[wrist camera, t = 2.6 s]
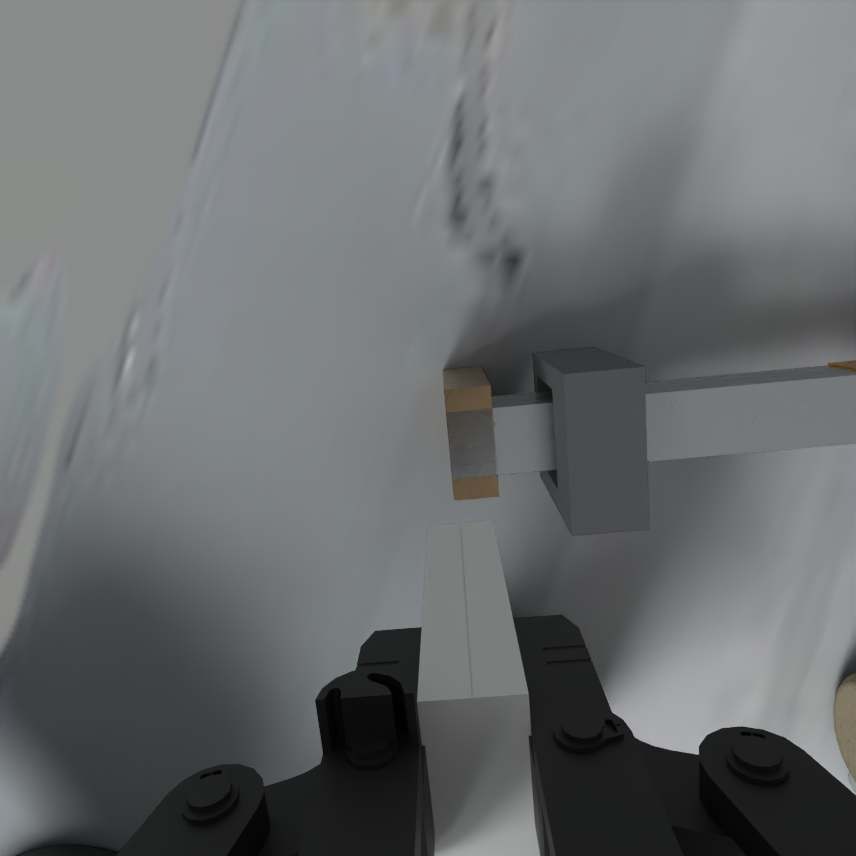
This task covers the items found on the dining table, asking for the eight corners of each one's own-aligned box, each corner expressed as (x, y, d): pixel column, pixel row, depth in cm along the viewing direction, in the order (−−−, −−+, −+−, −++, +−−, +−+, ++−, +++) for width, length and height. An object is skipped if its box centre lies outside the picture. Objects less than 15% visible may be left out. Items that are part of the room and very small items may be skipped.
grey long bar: (451, 459, 36) (454, 501, 29) (442, 369, 35) (444, 389, 28) (935, 416, 35) (1058, 448, 28) (941, 322, 34) (1071, 331, 27)
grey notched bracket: (540, 476, 34) (572, 535, 26) (532, 352, 32) (563, 374, 24) (598, 471, 33) (648, 529, 25) (593, 346, 32) (644, 366, 24)
